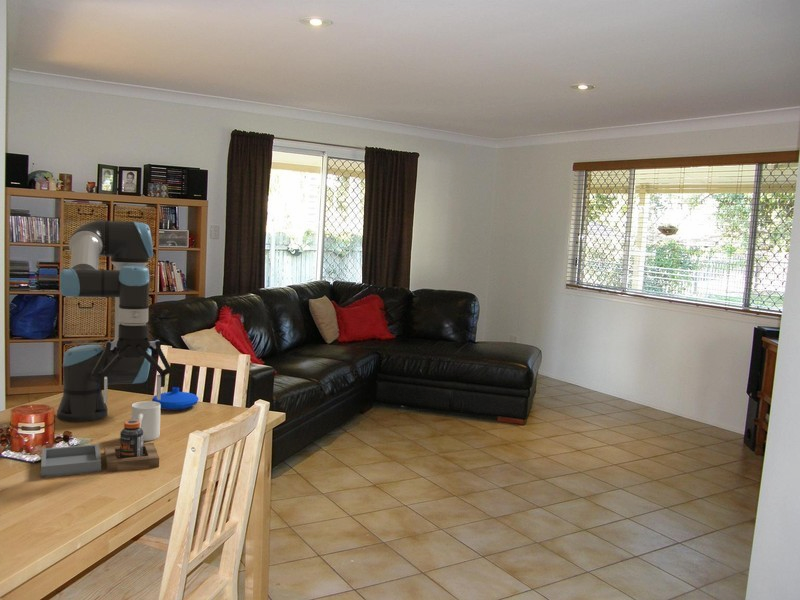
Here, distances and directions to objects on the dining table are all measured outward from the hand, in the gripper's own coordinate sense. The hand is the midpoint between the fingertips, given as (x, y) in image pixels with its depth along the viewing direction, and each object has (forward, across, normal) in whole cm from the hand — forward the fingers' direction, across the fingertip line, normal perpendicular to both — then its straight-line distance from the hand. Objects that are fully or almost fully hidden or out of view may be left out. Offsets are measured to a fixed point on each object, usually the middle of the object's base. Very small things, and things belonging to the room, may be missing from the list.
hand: (132, 400), depth 186 cm
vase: (+17, +19, +51) cm, 57 cm away
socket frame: (+17, 0, +2) cm, 17 cm away
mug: (+17, +5, +18) cm, 26 cm away
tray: (+17, -15, +1) cm, 23 cm away
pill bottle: (+18, 0, 0) cm, 18 cm away
